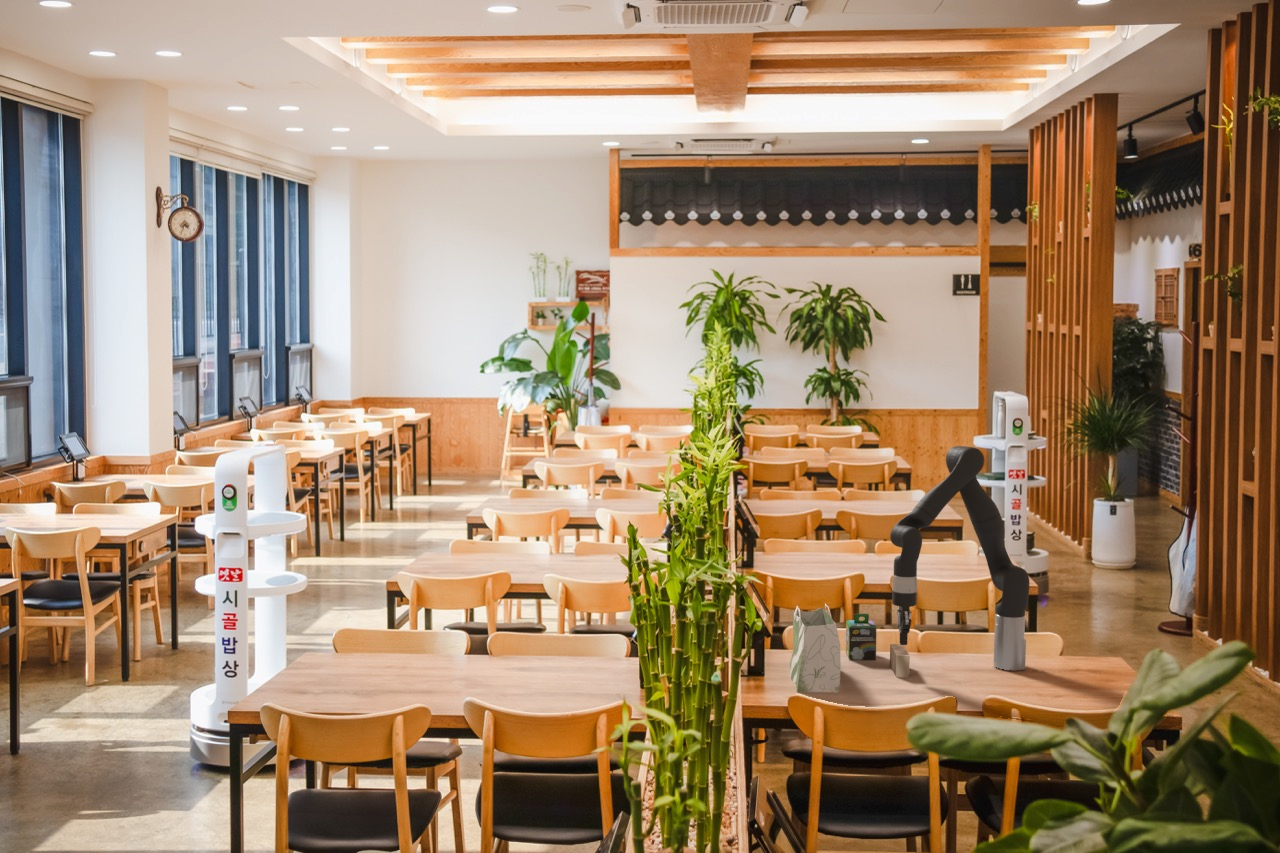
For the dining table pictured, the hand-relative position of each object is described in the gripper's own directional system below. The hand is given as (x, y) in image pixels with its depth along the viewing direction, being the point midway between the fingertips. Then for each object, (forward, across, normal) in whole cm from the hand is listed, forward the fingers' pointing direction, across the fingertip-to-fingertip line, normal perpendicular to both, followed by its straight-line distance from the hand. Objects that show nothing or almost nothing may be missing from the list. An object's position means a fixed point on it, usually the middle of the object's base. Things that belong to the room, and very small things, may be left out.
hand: (903, 644), depth 405 cm
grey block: (+7, 0, 0) cm, 7 cm away
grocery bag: (+11, -2, +28) cm, 30 cm away
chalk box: (+11, +24, +10) cm, 28 cm away
